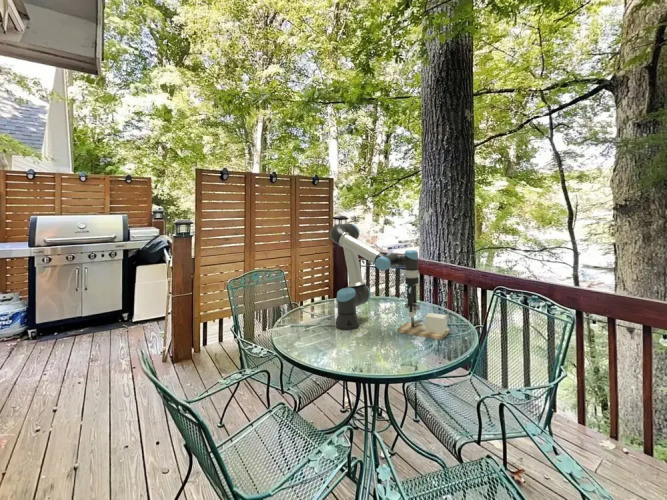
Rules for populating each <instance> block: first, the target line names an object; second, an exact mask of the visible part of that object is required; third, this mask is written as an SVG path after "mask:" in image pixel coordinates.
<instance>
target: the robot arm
mask: <svg viewBox="0 0 667 500" xmlns="http://www.w3.org/2000/svg"><path fill="white" fill-rule="evenodd" d="M329 236H330V239H331V240H332V242H333V243H335V244H337V245H338V246H339V247H342V248H343V254H344V259H345V264H346V270H347V276H348V281H349V284H348V287H345V288H344V287H343V288H340V289H339V290H338V291H337V292H336V305H337V317H336V320H335V328H336V329H339V330H344V331H348V330H350V331H351V330H357V328H359V327H360V320H359V318H358V314H357V307H358V306H361V305H364V304H365V303H367V302H368V301H369V300H370V299H371V289H370V288H369V287H368V286H367V284H366V282H365V281H363V276H362V272H361V271H362V270H361V266H360V260H359V256H360V257H362V258H364V259H365V260H368V261H369V262H370V263H372V264H374V266H375V267H376V269H378V270H379V271H386V270H388V269H389V270H390V269H391V268H394V267H404V272H405V273H404V277H405V279H404V280H405V284H406V285H408V286H407V292H406V293H407V303H408V305H407V306H409V309H408V318H411V317H414V318H415V315H417V310H416V311H415V310H414V306H413V304H418V301H417V300H418V299H417V297H418V295H417V285H418V284H419V274H420V271H419V252H418V251H417V250H414V249H413V250H412V249H411V250H410V249H409V250H408V249H407V250H405V251H404V253H397V252H388V253H387V254H384V253H382V252H381V251H379V250H376V249H375V248H374V247H372V246H369V245H368V244H366V243H364V242H363V241H361V240H359V236H360V230H359V227H358V226H357V225H355V224H353V223H349V222H348V223H340V224H335V225H334V226H332V228H331V229H330V231H329Z"/></svg>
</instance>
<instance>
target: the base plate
mask: <svg viewBox="0 0 667 500" xmlns="http://www.w3.org/2000/svg"><path fill="white" fill-rule="evenodd" d="M423 326H425V324H423V323H418V324H415V325H414V327H411V321H410V322H409V321H406V322H405V323H404V324H402V325H401V326H400V327H398V328H397V333H401V334H405V335H411V336H416V337H417V336H418V337H423V338H426V339H427V338H428V339H432V340H433V339H435V340H440V341H443V340H444V339H445V338H446V337H447V335H448V334H449V333H450V332H451V331H450V328H448V327H447V331H446V332H445V333H444V334H438V333H432V332H426V331H424V330H421V328H422V327H423Z"/></svg>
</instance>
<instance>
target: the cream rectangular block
mask: <svg viewBox="0 0 667 500" xmlns="http://www.w3.org/2000/svg"><path fill="white" fill-rule="evenodd" d="M447 316H448V315H447V314H441V313H436V312H435V313H434V312H428V313H427V314H426V315H425V317H424V320H425V321H424V322H425V324H424V325H425V326H423V327H422V328H421V330H424V331H426V332H432V333H438V334H444V333H445V332H446V331H447V328H448V327H447V326H448V324H447V323H448V321H447V319H448V317H447Z"/></svg>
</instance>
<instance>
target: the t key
mask: <svg viewBox="0 0 667 500" xmlns="http://www.w3.org/2000/svg"><path fill="white" fill-rule="evenodd" d="M407 305H408V302H407V303H404V308H405V309H407V310H409V306H407ZM413 306H414V310H415V311H416V312H417V311H419V310H420V309H421V307H420V304H418V303H416V304H413ZM410 323H411V327H414V325H415V324H422V323H424V320H423V319H417V320H415V316H414V317H410Z"/></svg>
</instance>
